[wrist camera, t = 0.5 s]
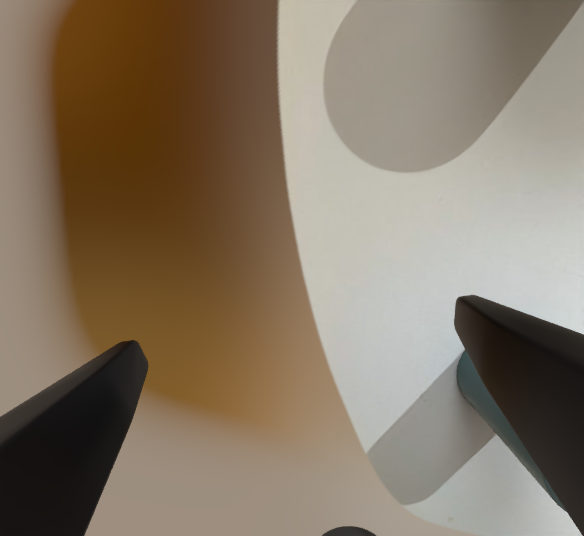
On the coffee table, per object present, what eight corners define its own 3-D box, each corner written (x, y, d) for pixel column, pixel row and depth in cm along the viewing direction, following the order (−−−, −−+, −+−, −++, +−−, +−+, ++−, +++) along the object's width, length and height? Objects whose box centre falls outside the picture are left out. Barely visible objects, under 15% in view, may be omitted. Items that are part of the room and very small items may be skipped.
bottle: (512, 426, 25) (652, 570, 15) (438, 385, 24) (529, 504, 14) (569, 357, 23) (764, 463, 13) (492, 313, 23) (633, 387, 13)
